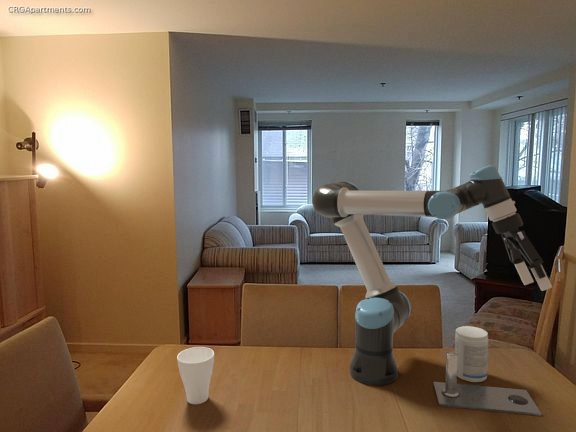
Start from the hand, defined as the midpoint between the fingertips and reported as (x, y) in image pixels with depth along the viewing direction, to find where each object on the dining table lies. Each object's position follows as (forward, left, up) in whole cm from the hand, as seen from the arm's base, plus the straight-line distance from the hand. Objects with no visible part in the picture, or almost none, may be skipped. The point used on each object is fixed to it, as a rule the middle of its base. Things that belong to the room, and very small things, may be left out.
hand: (537, 286), depth 119 cm
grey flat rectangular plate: (-14, -5, -32) cm, 36 cm away
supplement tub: (-15, +8, -33) cm, 37 cm away
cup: (-95, -20, -33) cm, 102 cm away
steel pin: (-23, -5, -32) cm, 40 cm away
